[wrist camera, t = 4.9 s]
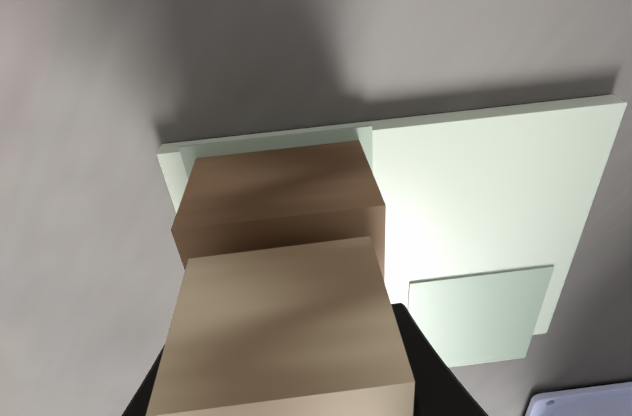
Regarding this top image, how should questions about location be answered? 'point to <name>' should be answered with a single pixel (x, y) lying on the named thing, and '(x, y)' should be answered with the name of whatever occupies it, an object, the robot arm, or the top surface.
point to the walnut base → (280, 201)
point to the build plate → (466, 210)
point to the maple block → (285, 337)
